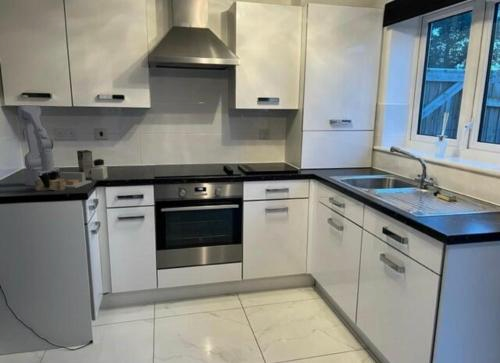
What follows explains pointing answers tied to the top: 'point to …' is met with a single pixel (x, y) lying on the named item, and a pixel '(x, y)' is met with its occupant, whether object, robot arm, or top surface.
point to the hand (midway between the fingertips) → (50, 186)
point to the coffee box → (85, 162)
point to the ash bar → (50, 185)
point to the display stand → (73, 179)
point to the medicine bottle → (99, 170)
